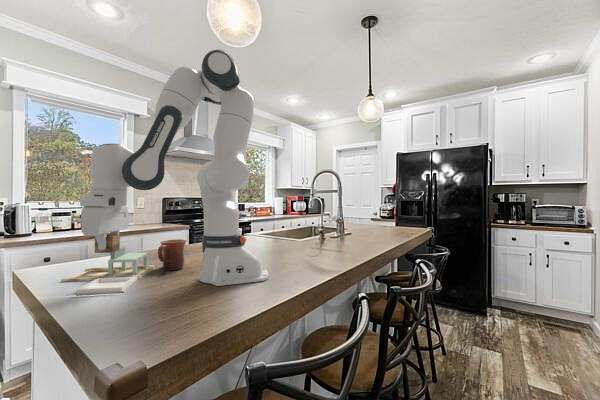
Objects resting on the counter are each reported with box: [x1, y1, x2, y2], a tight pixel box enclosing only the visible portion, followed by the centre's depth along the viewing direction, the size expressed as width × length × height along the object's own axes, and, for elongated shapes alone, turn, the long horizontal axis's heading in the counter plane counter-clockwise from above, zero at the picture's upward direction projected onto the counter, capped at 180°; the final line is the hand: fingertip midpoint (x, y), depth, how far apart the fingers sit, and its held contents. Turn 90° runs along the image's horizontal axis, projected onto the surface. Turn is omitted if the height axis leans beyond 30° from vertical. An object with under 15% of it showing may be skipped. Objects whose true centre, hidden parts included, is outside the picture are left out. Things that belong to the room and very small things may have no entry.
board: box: [60, 264, 156, 283], centre depth 93 cm, size 22×14×1 cm, turn 101°
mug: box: [157, 238, 187, 272], centre depth 101 cm, size 12×9×10 cm
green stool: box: [107, 246, 149, 276], centre depth 94 cm, size 8×11×8 cm
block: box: [94, 234, 121, 254], centre depth 80 cm, size 4×4×4 cm
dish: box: [75, 276, 138, 297], centre depth 80 cm, size 11×11×2 cm
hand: (108, 247), depth 80 cm, fingers closed on block, 4 cm apart
